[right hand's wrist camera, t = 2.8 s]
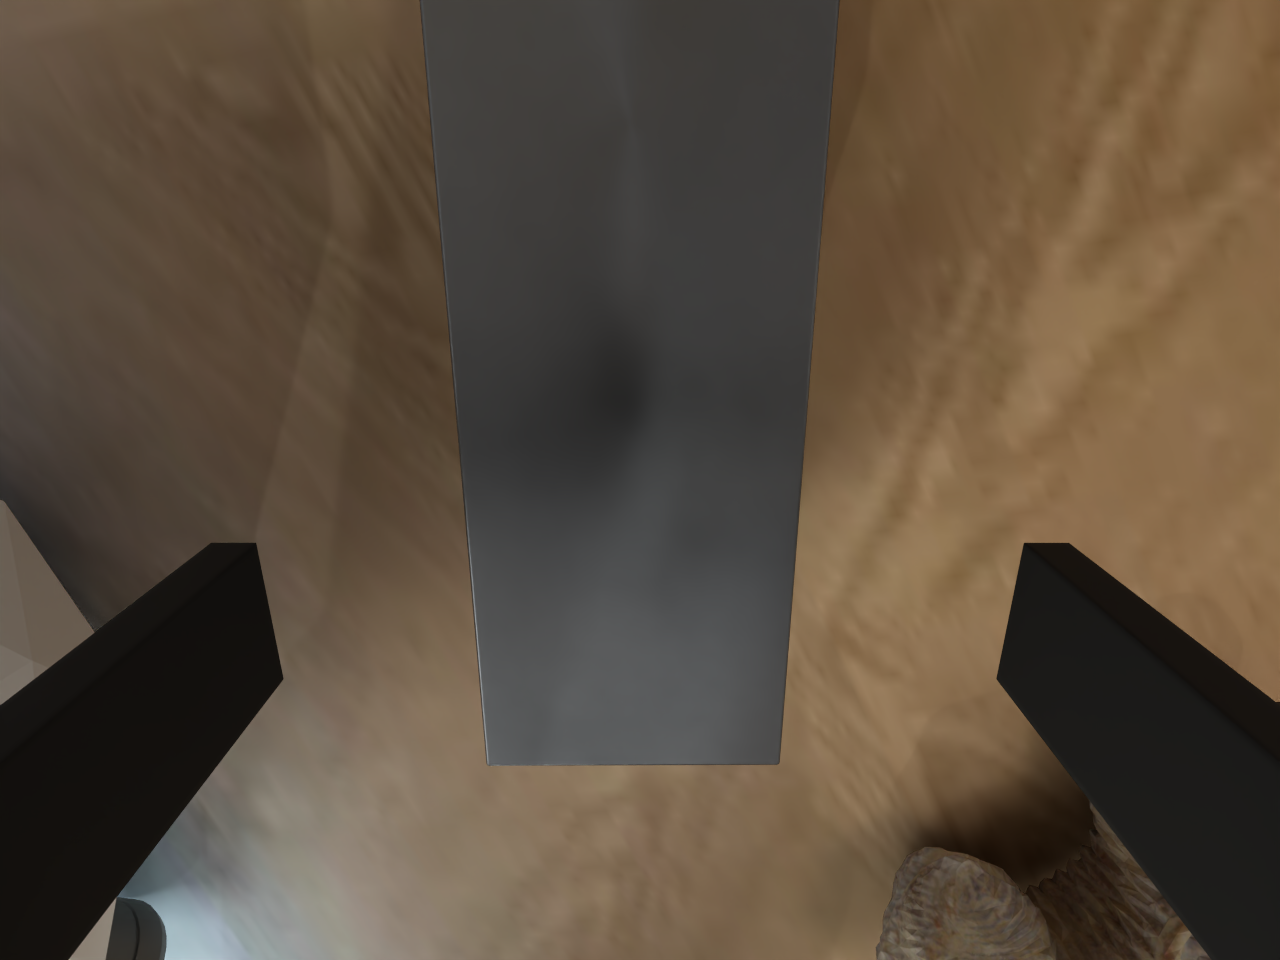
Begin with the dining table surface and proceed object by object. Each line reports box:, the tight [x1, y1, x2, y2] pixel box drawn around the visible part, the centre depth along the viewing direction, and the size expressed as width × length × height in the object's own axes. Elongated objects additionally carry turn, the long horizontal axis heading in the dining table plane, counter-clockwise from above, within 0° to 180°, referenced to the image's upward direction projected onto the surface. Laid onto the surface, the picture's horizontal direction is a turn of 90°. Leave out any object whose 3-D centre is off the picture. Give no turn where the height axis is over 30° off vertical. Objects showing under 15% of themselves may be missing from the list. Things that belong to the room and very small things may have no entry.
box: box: [420, 0, 840, 766], centre depth 16 cm, size 25×6×11 cm, turn 0°
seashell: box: [876, 801, 1211, 960], centre depth 27 cm, size 14×10×10 cm
